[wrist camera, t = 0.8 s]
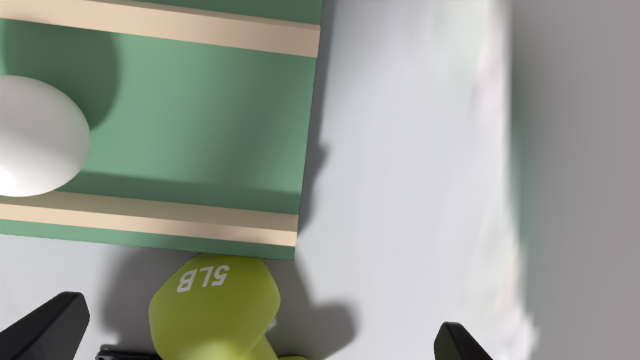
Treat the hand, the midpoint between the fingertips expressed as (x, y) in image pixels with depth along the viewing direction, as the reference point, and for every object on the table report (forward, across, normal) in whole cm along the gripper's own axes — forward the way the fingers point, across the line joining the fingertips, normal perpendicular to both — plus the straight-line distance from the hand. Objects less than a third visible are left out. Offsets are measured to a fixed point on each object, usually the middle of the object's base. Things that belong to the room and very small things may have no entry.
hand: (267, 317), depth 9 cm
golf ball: (+8, +11, 0) cm, 14 cm away
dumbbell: (+13, +1, +16) cm, 20 cm away
